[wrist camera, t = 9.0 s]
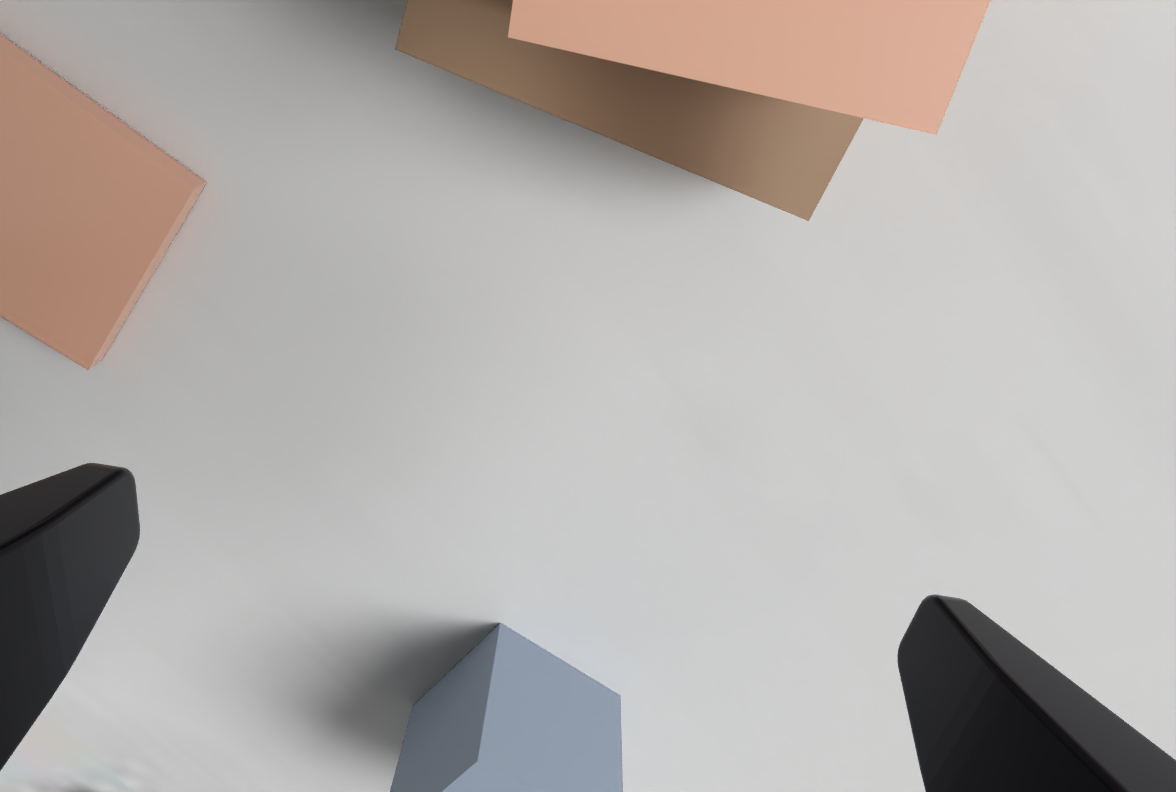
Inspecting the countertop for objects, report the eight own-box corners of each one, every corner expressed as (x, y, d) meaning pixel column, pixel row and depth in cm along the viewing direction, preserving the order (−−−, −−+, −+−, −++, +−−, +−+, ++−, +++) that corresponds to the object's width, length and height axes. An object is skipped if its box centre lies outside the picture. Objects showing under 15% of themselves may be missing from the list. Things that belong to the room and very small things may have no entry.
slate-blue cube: (413, 704, 26) (374, 849, 21) (500, 620, 24) (477, 761, 20) (529, 767, 27) (515, 916, 23) (620, 693, 25) (623, 839, 21)
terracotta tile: (-135, 212, 18) (-158, 218, 18) (-53, -5, 16) (-75, -5, 15) (101, 360, 20) (88, 370, 19) (206, 182, 18) (194, 188, 17)
